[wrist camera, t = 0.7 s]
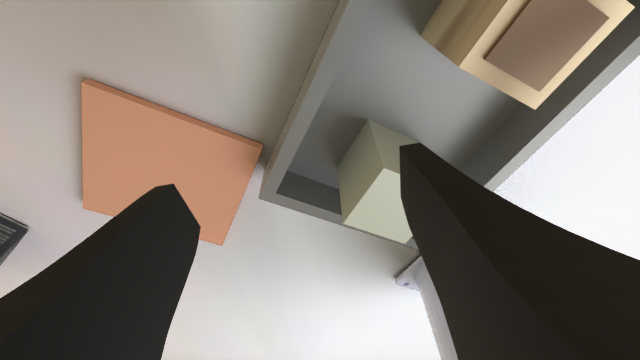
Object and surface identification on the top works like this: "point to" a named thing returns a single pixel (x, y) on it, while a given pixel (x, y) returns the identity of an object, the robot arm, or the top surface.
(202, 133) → the mat
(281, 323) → the top surface
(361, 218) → the plain block
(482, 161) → the tray
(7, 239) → the box
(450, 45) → the label block
